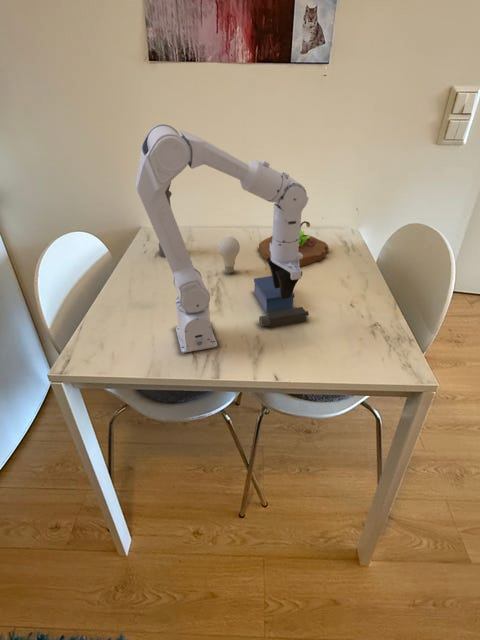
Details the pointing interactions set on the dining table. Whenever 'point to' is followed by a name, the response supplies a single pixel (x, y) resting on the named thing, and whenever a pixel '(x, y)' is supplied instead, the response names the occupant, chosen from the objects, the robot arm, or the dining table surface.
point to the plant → (301, 248)
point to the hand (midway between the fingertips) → (282, 292)
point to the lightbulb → (229, 252)
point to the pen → (284, 317)
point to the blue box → (271, 295)
